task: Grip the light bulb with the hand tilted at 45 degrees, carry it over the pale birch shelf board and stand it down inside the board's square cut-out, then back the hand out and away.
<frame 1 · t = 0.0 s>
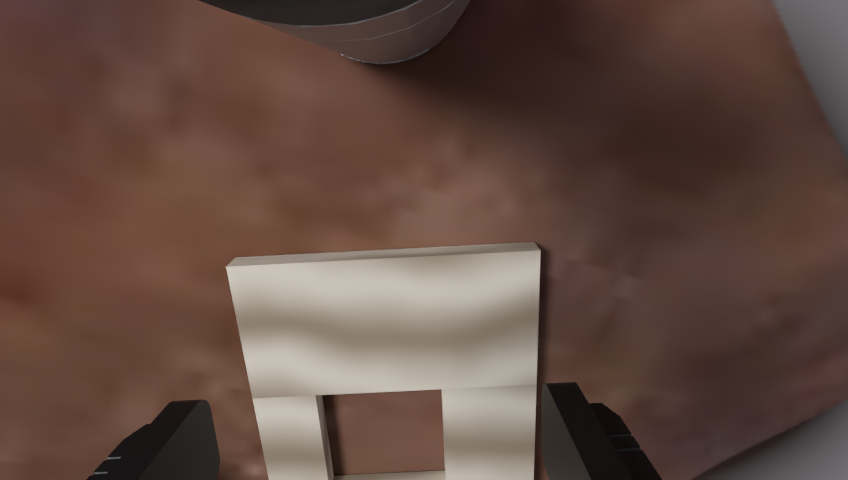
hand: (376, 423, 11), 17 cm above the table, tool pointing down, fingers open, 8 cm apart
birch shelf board: (397, 402, 32), on the table
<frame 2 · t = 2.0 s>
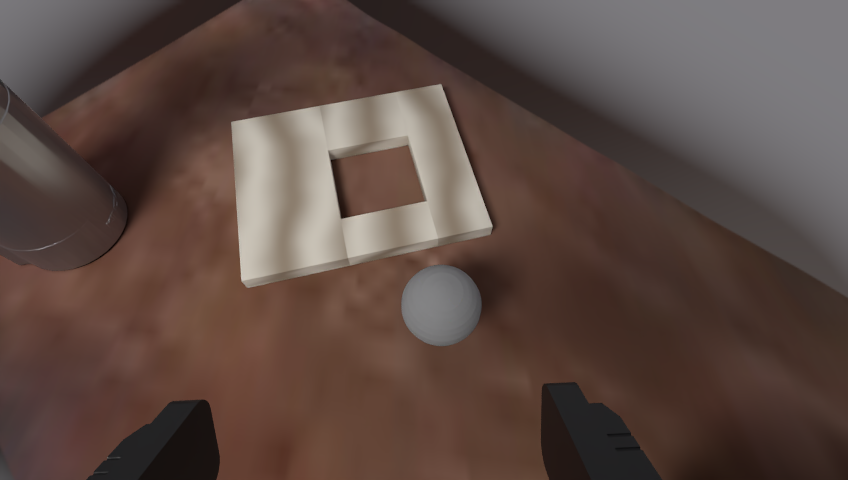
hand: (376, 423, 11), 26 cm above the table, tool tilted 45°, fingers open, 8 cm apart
light bulb: (438, 336, 38), on the table
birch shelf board: (355, 180, 46), on the table
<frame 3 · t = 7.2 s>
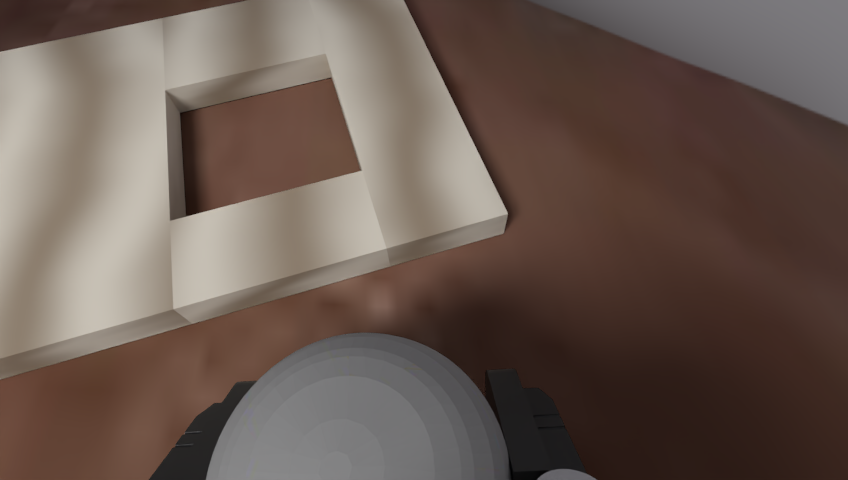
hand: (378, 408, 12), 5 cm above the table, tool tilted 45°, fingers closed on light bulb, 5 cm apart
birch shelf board: (224, 144, 23), on the table
when the fingers open (6 cm above the table, at t = 13.5 s): light bulb drops 1 cm, resting in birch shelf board.
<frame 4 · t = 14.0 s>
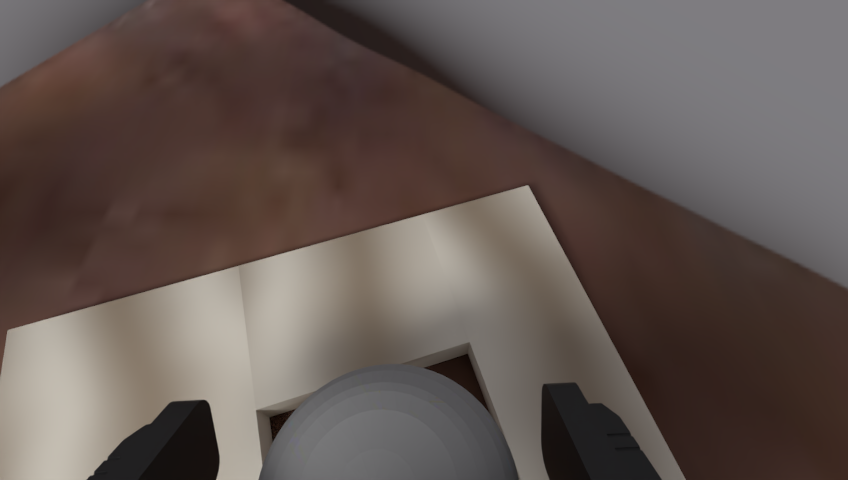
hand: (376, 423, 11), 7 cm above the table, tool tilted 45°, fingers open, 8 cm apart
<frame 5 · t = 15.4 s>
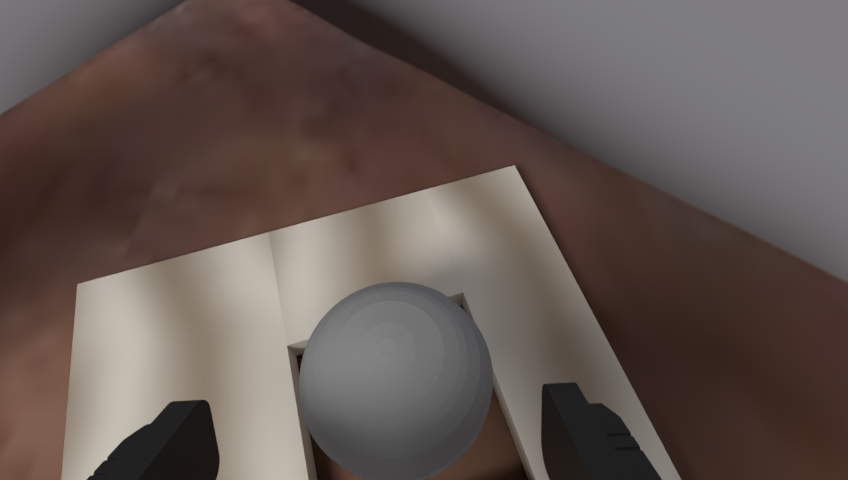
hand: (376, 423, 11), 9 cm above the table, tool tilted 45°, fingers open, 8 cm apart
light bulb: (411, 421, 20), resting in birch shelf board
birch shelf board: (353, 407, 20), on the table
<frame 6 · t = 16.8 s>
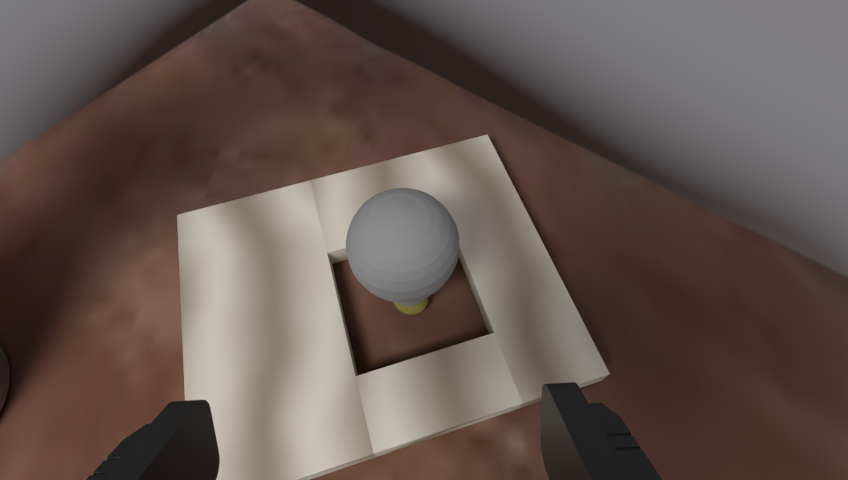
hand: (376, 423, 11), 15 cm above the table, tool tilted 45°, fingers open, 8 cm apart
light bulb: (412, 304, 29), resting in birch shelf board
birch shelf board: (372, 295, 29), on the table
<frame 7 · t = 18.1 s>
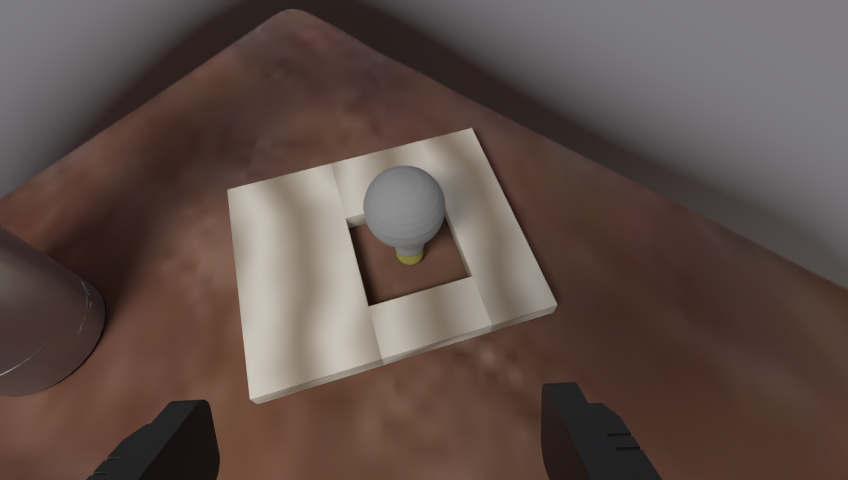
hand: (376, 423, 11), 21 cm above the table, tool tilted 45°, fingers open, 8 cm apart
light bulb: (411, 258, 38), resting in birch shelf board
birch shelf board: (380, 251, 38), on the table
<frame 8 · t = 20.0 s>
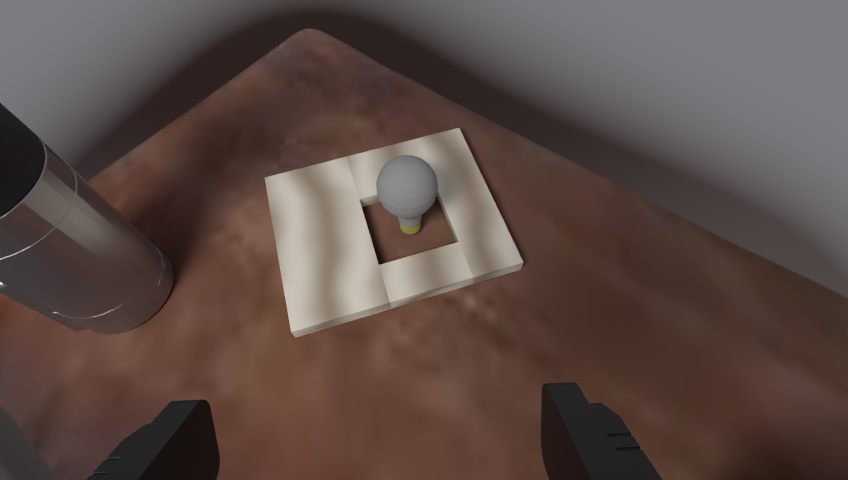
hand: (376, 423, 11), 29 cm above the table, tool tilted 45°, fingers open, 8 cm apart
light bulb: (411, 230, 48), resting in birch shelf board
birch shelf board: (387, 225, 48), on the table
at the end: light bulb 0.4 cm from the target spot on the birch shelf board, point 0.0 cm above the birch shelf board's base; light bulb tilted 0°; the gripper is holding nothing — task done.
